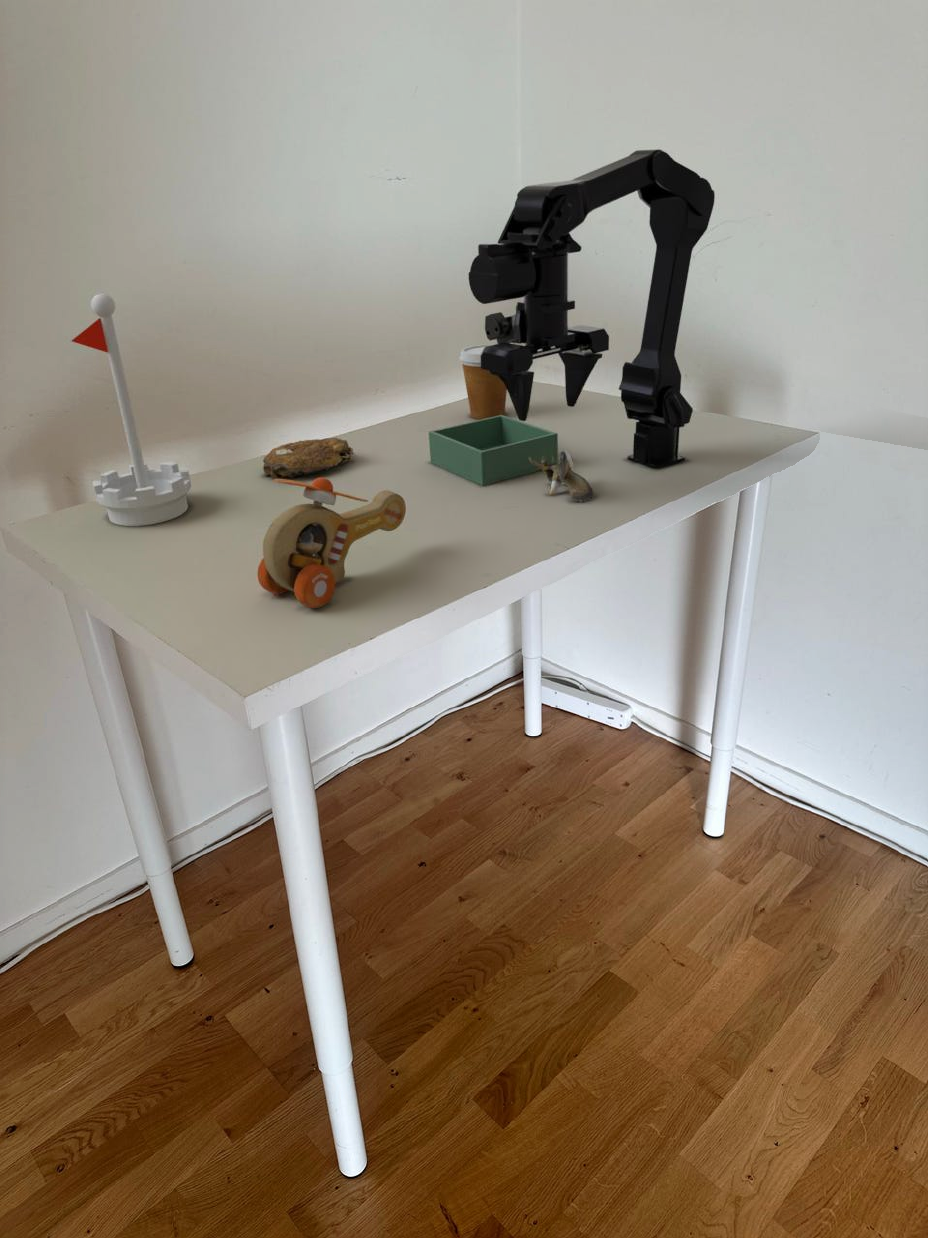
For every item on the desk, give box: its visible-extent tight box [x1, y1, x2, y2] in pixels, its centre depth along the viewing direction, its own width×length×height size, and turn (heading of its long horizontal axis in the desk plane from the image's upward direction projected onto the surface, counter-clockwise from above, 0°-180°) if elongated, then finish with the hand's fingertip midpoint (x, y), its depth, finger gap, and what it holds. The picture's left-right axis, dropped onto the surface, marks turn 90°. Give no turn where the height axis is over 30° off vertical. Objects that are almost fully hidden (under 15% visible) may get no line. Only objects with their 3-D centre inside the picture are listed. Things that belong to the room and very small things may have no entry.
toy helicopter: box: [257, 477, 407, 609], centre depth 105 cm, size 8×21×14 cm, turn 140°
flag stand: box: [71, 293, 192, 527], centre depth 124 cm, size 13×13×30 cm
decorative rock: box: [262, 437, 356, 479], centre depth 146 cm, size 11×4×15 cm
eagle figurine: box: [529, 449, 594, 503], centre depth 129 cm, size 8×7×9 cm
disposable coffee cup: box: [458, 344, 508, 420], centre depth 167 cm, size 10×10×12 cm
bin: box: [428, 415, 559, 486], centre depth 142 cm, size 14×15×5 cm
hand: (547, 413), depth 124 cm, fingers open, 9 cm apart
